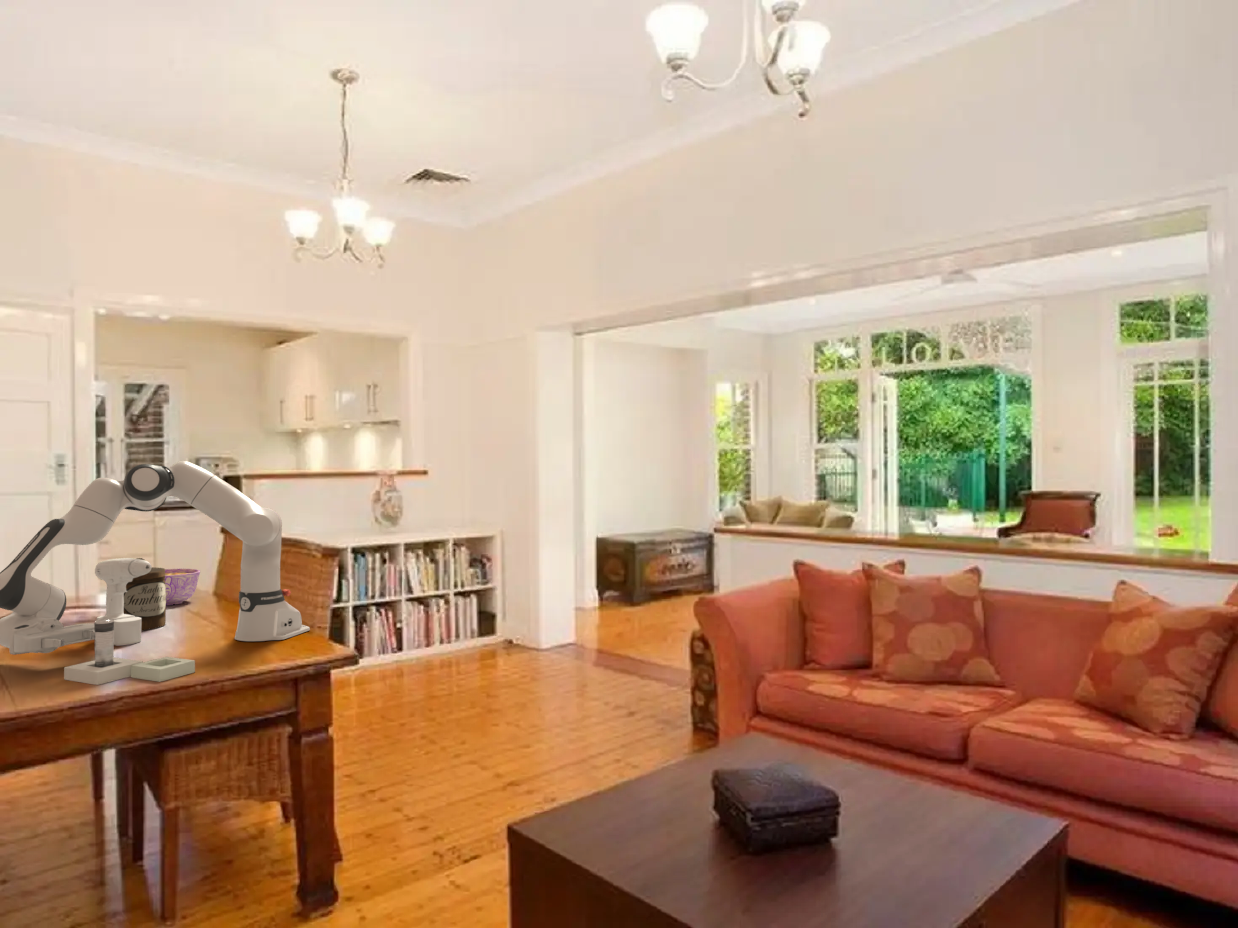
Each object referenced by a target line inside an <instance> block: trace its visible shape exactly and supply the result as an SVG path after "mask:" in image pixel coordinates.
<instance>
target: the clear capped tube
mask: <svg viewBox="0 0 1238 928" xmlns="http://www.w3.org/2000/svg"><path fill="white" fill-rule="evenodd" d="M93 624H94V631H95V640H94V660H95V667H98V668H103V667H107V666H112V665H114V657H115V655H114V653H115V652H114V650H115V649H114V647H115V645H114V619H99V620H97V619H96V620H94V623H93Z"/></svg>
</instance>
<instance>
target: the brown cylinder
mask: <svg viewBox="0 0 1238 928" xmlns="http://www.w3.org/2000/svg"><path fill="white" fill-rule="evenodd" d="M135 559H140V560H145V559H144V558H143V557H139V558H138V557H137V558H135ZM165 569H166V568H163V567H152V568H151V571H150V572H149V573H147V574H145V575H142V576H139V577H136V578H133V580H132V582H128V583H127V584H126V591H127V592H125V593H124V614H128V615H133V616H135V617H140V618H141V631H148V630H149V631H150V630H154V629H158V628H159V629H160V628H162V627H164V626H165V625H166V623H167V622H166V620H167V619H166V618H167V617H166V616H167V614H166V612H167V611H166V610H167V605H166V593H165Z"/></svg>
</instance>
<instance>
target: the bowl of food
mask: <svg viewBox="0 0 1238 928" xmlns="http://www.w3.org/2000/svg"><path fill="white" fill-rule="evenodd" d="M164 569H165V593H166V606H172V605H173V604H175V605H180V604H183V602H185V601H186V600H188V599H190V598H192V596H193V595H194V594H195V592H196V590H197V585H198V581H199V577H200V573H201V570H200V569H196V568H164ZM173 606H174V605H173Z"/></svg>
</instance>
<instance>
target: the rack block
mask: <svg viewBox="0 0 1238 928" xmlns="http://www.w3.org/2000/svg"><path fill="white" fill-rule="evenodd" d="M195 672H196V660H194V659H188V658H187V659H186V658H178V657H172V656H164V657H160V658H155V659H152V660H147V661H143V663H139V664H135V665H131V676H130V677H131V678H132V679H138V680H139V679H140V680H146V681H152V682H159V683H161V682H164V681H168V680H172V679H175V678H178V677H183V676H186V675H190V674H193V673H195Z"/></svg>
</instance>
